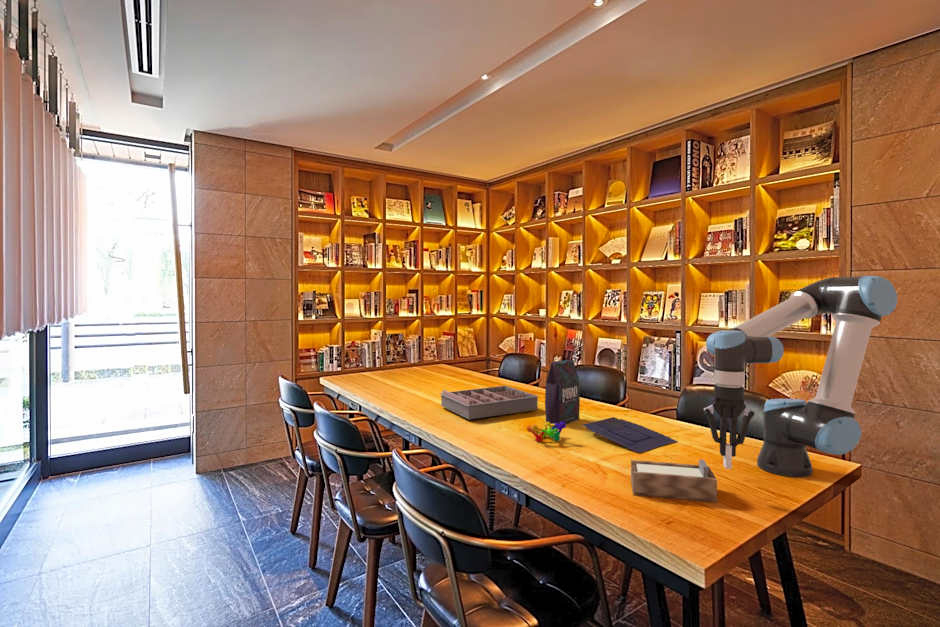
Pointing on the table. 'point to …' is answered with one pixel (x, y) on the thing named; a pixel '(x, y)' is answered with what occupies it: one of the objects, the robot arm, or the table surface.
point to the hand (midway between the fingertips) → (727, 467)
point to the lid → (675, 469)
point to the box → (673, 483)
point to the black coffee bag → (562, 393)
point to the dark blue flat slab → (629, 434)
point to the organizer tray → (488, 401)
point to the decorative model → (547, 431)
